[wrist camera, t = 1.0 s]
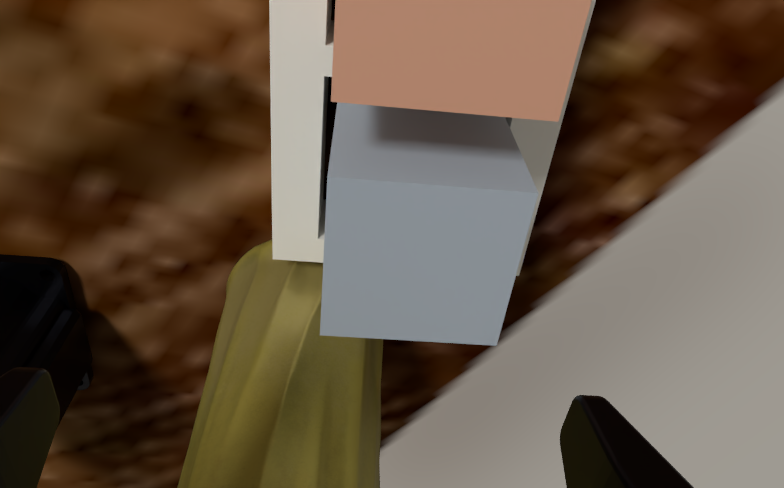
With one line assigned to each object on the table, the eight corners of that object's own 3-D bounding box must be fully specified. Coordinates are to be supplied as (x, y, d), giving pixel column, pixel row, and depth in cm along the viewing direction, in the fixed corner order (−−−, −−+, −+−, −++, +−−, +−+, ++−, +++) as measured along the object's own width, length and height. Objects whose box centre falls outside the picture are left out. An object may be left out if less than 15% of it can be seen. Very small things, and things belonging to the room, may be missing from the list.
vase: (420, 295, 23) (466, 769, 12) (316, 375, 26) (267, 835, 14) (298, 200, 21) (200, 684, 9) (195, 299, 23) (12, 783, 12)
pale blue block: (331, 223, 19) (319, 335, 15) (339, 88, 16) (327, 177, 12) (470, 233, 19) (496, 345, 15) (498, 102, 17) (539, 193, 13)
